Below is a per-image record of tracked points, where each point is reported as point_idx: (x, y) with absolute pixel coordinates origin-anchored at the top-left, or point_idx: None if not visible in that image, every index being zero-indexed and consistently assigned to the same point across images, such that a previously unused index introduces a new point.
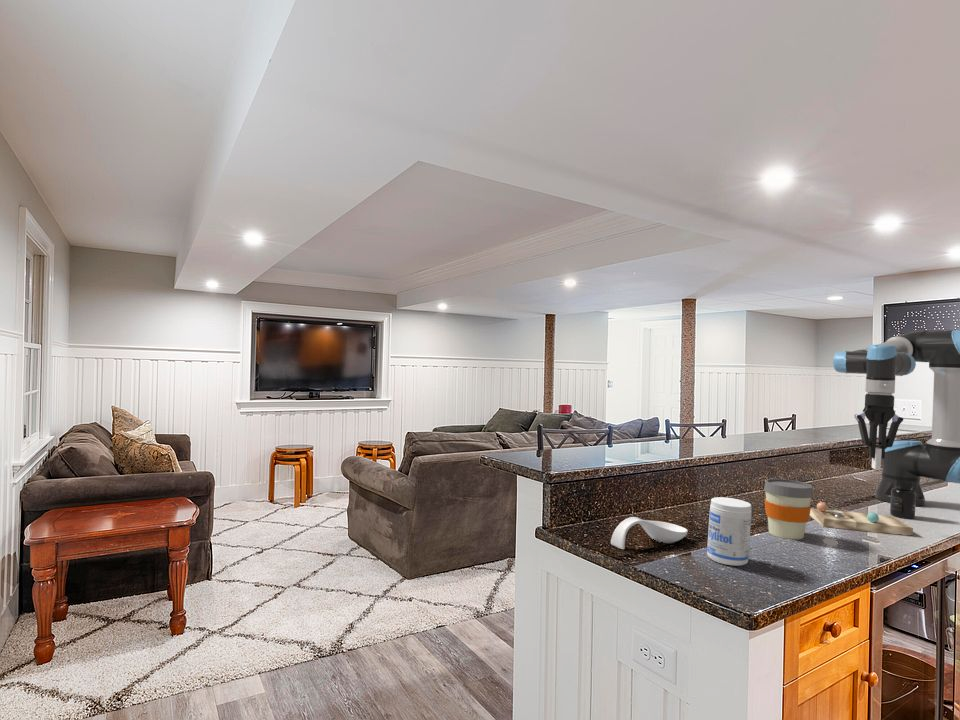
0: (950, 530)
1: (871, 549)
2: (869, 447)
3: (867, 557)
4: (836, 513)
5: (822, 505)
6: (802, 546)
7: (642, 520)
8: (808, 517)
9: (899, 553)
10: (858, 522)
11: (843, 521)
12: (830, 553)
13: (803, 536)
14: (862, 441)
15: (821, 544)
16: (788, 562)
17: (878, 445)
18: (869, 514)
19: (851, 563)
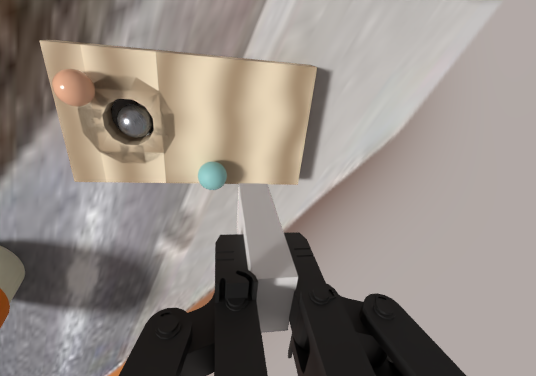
0: (435, 83)
1: (155, 291)
2: (213, 301)
3: (133, 328)
4: (123, 123)
5: (69, 104)
6: (22, 321)
7: None
8: (2, 324)
9: (199, 292)
10: (171, 182)
11: (132, 181)
12: (72, 334)
13: (22, 279)
14: (137, 349)
15: (61, 299)
16: None
17: (300, 306)
18: (201, 182)
19: (99, 358)
